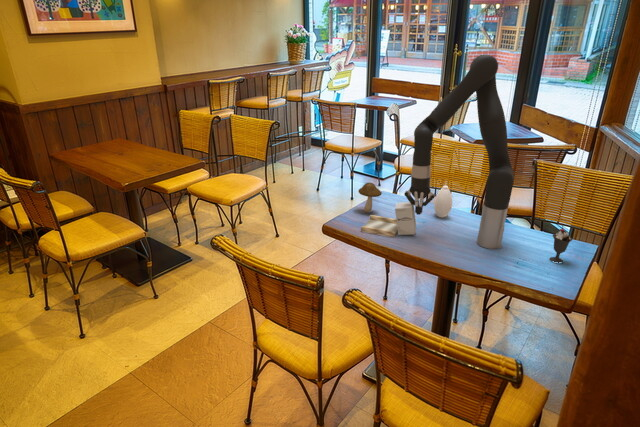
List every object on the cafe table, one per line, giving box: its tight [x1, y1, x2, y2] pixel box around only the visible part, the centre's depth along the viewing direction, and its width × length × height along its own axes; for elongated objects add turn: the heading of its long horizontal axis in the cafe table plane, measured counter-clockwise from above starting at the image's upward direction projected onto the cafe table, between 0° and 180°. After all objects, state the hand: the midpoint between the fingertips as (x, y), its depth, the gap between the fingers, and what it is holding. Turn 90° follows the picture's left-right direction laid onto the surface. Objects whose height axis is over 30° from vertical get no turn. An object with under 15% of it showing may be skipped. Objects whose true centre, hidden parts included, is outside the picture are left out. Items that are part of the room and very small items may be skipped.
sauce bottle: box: [433, 180, 453, 219], centre depth 199 cm, size 8×8×18 cm
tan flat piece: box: [360, 214, 398, 238], centre depth 191 cm, size 14×14×2 cm
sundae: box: [549, 223, 574, 263], centre depth 163 cm, size 7×7×15 cm
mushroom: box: [358, 182, 383, 213], centre depth 204 cm, size 9×11×15 cm
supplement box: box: [394, 201, 417, 236], centre depth 185 cm, size 7×7×13 cm
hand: (418, 213), depth 181 cm, fingers closed
